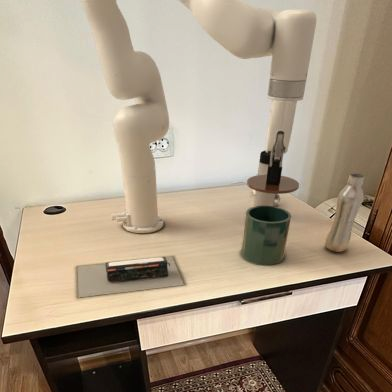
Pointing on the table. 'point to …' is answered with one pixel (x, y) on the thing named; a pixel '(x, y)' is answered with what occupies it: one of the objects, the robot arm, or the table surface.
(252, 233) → the green ceramic cup
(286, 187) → the lid
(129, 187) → the robot arm
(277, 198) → the woman figurine
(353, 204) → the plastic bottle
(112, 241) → the table surface
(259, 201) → the travel mug
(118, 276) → the grey board with block
